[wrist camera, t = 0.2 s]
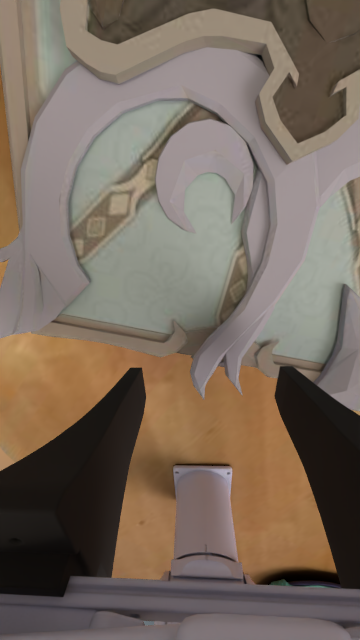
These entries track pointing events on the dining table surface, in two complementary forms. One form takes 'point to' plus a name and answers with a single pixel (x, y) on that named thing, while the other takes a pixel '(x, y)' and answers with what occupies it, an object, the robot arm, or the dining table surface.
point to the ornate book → (188, 181)
